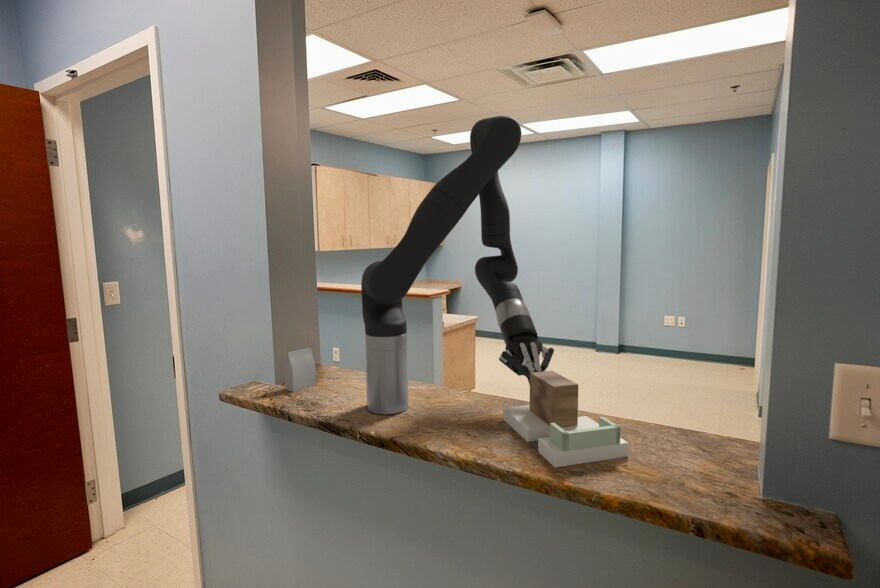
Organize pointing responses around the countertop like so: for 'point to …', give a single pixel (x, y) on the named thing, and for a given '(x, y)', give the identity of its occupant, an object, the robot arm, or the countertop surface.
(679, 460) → the countertop surface
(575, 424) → the walnut block
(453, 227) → the robot arm
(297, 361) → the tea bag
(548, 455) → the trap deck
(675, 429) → the countertop surface
